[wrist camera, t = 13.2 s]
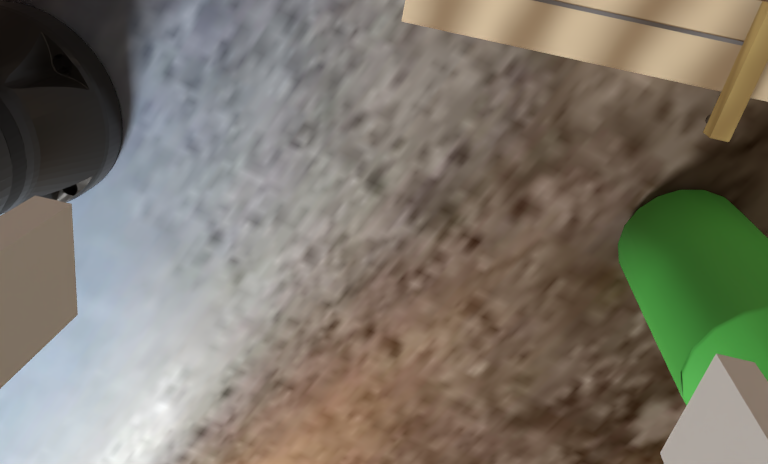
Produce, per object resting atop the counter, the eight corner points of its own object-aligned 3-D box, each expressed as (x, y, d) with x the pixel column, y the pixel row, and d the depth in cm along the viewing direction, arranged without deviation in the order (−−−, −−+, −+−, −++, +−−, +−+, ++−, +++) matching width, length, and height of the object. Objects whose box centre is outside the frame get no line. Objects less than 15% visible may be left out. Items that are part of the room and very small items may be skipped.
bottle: (714, 300, 46) (947, 641, 24) (600, 280, 46) (723, 595, 24) (762, 195, 42) (1098, 485, 20) (637, 174, 42) (826, 434, 20)
